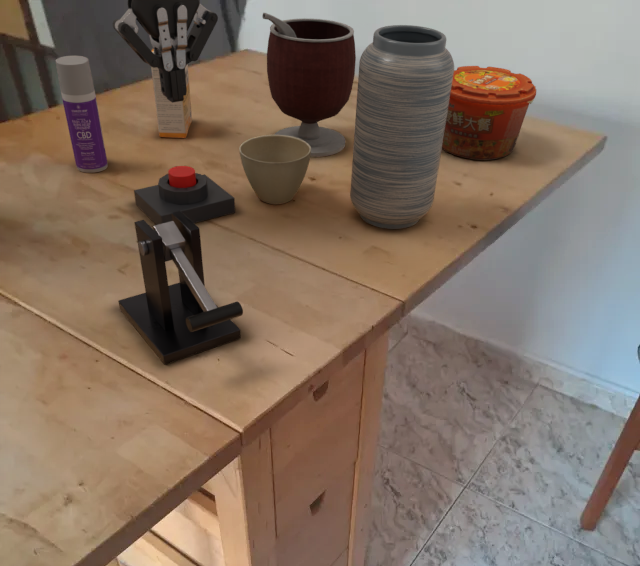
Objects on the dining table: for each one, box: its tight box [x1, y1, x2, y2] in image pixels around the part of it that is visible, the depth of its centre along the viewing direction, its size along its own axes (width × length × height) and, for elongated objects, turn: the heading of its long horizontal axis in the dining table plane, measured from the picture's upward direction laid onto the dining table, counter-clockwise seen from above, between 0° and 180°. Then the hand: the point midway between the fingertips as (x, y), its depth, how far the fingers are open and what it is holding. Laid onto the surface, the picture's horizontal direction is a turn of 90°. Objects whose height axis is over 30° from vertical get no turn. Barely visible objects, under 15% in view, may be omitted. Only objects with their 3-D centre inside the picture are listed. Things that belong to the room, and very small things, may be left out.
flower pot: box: [238, 134, 311, 205], centre depth 98 cm, size 10×10×7 cm
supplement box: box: [150, 47, 193, 139], centre depth 114 cm, size 8×5×13 cm, turn 0°
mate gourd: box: [262, 12, 357, 158], centre depth 109 cm, size 16×14×20 cm
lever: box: [152, 221, 244, 332], centre depth 68 cm, size 12×6×2 cm, turn 34°
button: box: [167, 165, 196, 188], centre depth 93 cm, size 4×4×2 cm
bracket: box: [117, 211, 242, 365], centre depth 72 cm, size 12×9×12 cm
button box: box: [133, 172, 236, 225], centre depth 95 cm, size 11×9×4 cm
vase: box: [349, 24, 455, 230], centre depth 90 cm, size 12×12×23 cm
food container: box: [442, 65, 537, 161], centre depth 114 cm, size 16×16×11 cm
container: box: [55, 55, 109, 174], centre depth 101 cm, size 5×5×15 cm
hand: (174, 99), depth 87 cm, fingers closed
